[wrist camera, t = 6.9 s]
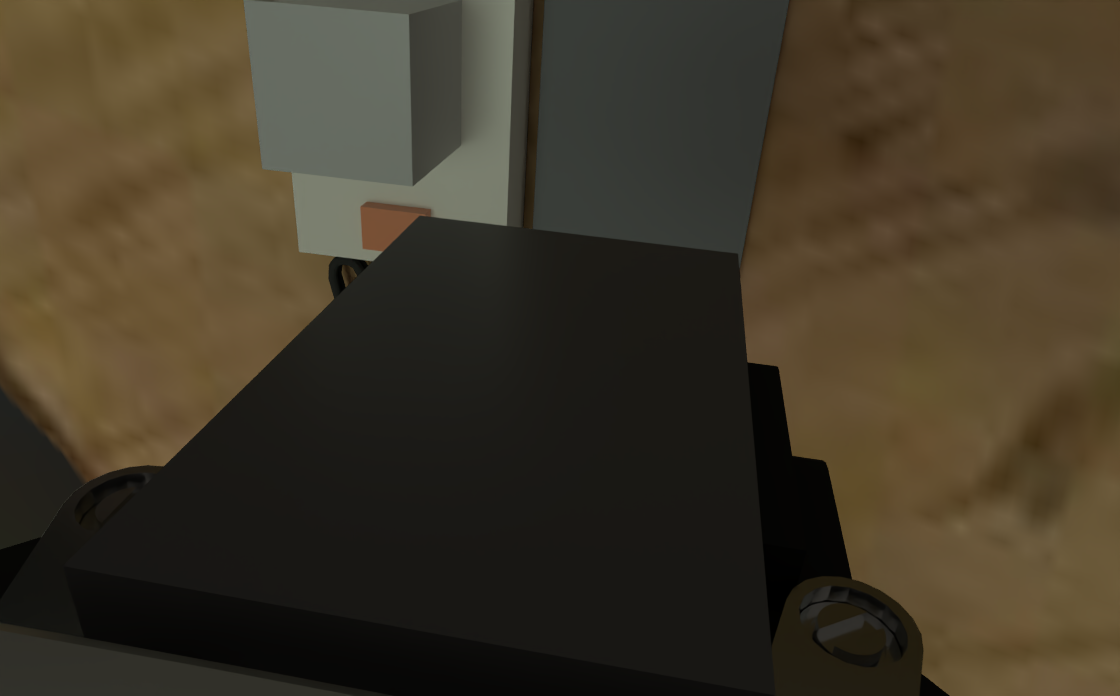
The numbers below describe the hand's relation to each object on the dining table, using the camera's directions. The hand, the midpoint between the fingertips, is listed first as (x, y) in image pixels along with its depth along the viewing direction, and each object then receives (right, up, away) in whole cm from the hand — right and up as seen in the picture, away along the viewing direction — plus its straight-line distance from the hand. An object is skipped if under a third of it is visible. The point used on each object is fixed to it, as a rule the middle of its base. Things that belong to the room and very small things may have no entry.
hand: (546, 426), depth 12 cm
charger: (0, +1, +2) cm, 2 cm away
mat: (+3, +9, +17) cm, 20 cm away
